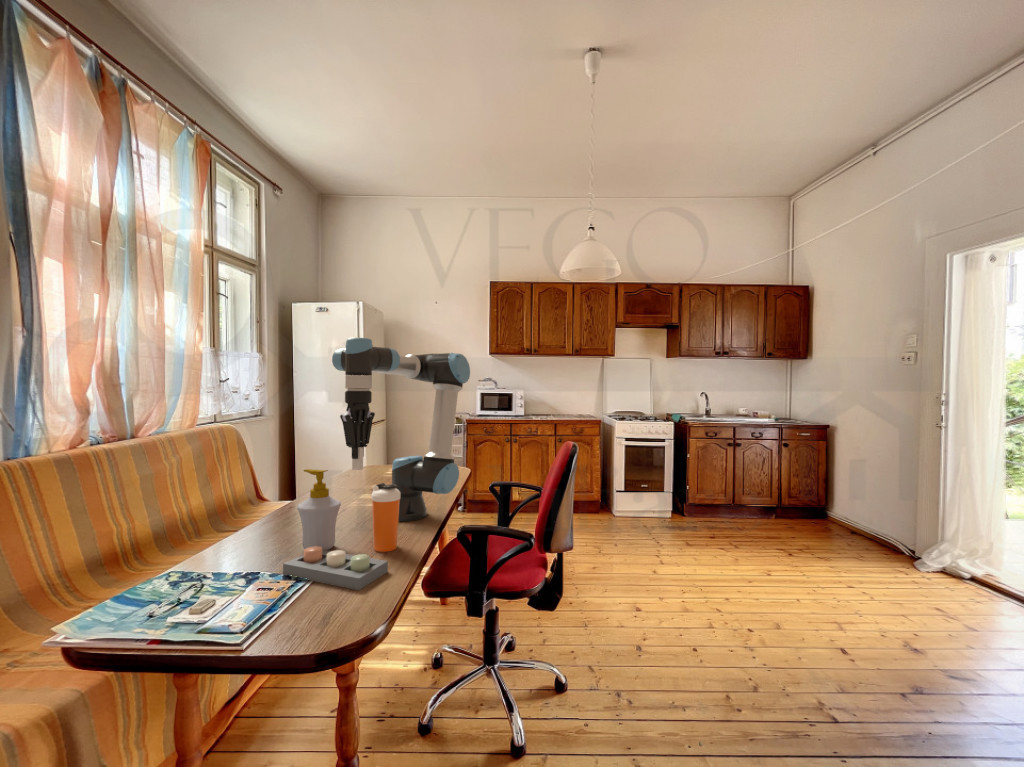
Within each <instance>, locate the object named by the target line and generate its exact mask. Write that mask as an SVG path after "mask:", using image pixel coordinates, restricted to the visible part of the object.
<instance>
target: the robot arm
mask: <svg viewBox="0 0 1024 767" xmlns="http://www.w3.org/2000/svg"><path fill="white" fill-rule="evenodd" d="M331 362H332V366H333V367H334V368H335V369H336V370H337V371H339V372H345V373H344V374H345V386H344V387H345V389H347V390H345V392H344V403H345V404H347V407H346V411H345V413H343V414H340V415H339V417H340V420H341V422H342V426H343V434H344V440H345V445H346V447H348V448H351V459H352V460H351V461H352V462H351V463H352V464H351V465H352V466H351V469H352V470H353V471H354V470H356V471H363V469H364V457H365V456H364V455H365V453H364V452H365V451H364V450H365V448H367V447H368V444H369V443H370V438H371V433H372V426H373V420H374V417H375V415H376V412H373V411H371V409H370V406H369V404H371V403H372V398H373V397H372V396H373V395H372V394H373V393H372V391H371V389H372V388H373V376H372V375H373V374H383V375H392V376H403V377H405V379H409V380H416V381H420V382H426V383H432V387H433V388H434V389H435V397H434V404H433V411H432V412H433V414H432V420H431V427H430V428H431V430H430V438H429V446H428V451H427V453H426V454H424V455H423V456H422V455H409V456H402V457H398V458H395V459H393V461H392V466H391V467H392V468H391V484H395V485H397V487H396V489H398V490H399V491H400V503H399V521H398V522H412V521H411V520H413V521H418V520H421V519H420V518H422V519H423V517H424V518H425V517H427V515H428V514H427V513H428V512H427V510H428V509H427V507H426V503H425V499H424V495H423V493H429V494H431V493H432V494H435V495H439V494H440V495H447V494H450V493H451V492H453V490H454V489H455V487H456V486H457V484H458V481H459V479H460V477H459V476H460V470H459V466H458V465H457V464H456V463H455V457H454V456H453V455H452V450H453V449H452V448H453V442H454V441H453V439H454V431H455V430H454V429H455V422H456V412H457V405H458V395H459V393H460V392H461V391H462V390H463V388H464V387H463V386H464V384H465V383H468V381H469V380H470V377H471V368H470V363H469V361H468V359H467V357H466V356H464V355H463V353H454V352H450V353H449V352H446V353H424V354H407V355H400V353H399V352H398V351H397V350H396V349H395V348H390V347H384V346H383V347H381V346H374V345H373V340H372V339H371V338H369V337H367V338H366V337H349V338H347V339H346V342H345V347H343V348H338V349H336V350H335V351H333V354H332V357H331ZM417 519H418V520H417Z"/></svg>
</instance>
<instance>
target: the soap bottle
mask: <svg viewBox="0 0 1024 767" xmlns="http://www.w3.org/2000/svg"><path fill="white" fill-rule="evenodd" d="M328 471H329V469H325V470H324V469H312V468H311V469H310V468H309V469H308V468H307V469H303V473H304V472H305V473H309V474H310V475H313V476H315V479H316V480H317V481H316V482H315V483H314V484H313V488H311V489H310V492H309V493H310V495H309V496H310V497H309V498H308V499H306V500H305V501H303V502H301V503H299V504H297V508H296V509H297V511H298V513H299V516H300V522H301V527H302V548H303V550H304V549H306V548H309V547H314V546H319V547H322V550H327V551H330V550H331V549H332V548H333V547H334V546H335V543H336V524H337V518H338V515H339V511H340V508H341V506H342V505H341V504H342V503H341V500H338V499H336V498H333V497H332V496H331V495H329V493H330V489H329V487H327V485H326V484H327V483H325V482H323V480H324V476H325V475H324V473H326V472H328Z"/></svg>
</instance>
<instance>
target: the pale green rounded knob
mask: <svg viewBox="0 0 1024 767" xmlns="http://www.w3.org/2000/svg"><path fill="white" fill-rule="evenodd" d="M354 555H355V556H353V557H351V571H355V572H360V573H363V572H364V571H366V570H368V569H369V568H370V558H371V557H370V555H369V554H365V553H363V554H354Z"/></svg>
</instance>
